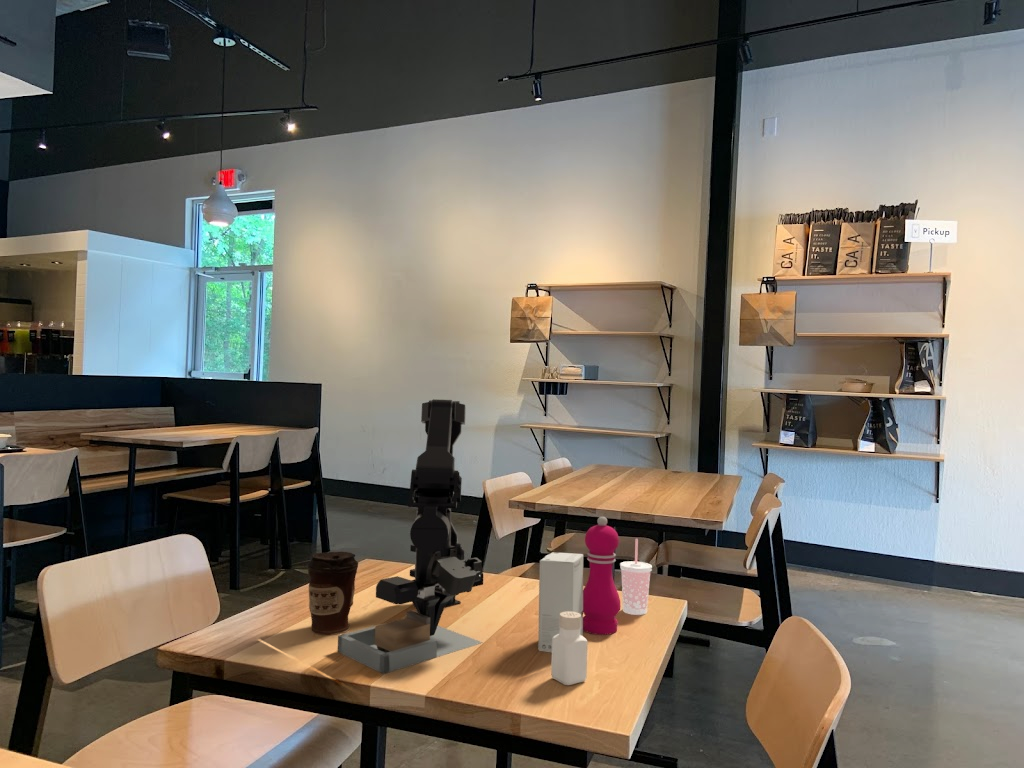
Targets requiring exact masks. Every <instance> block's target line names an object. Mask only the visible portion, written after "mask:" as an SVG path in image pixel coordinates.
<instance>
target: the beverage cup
mask: <svg viewBox="0 0 1024 768" xmlns="http://www.w3.org/2000/svg"><path fill="white" fill-rule="evenodd" d="M634 544H635V547H634V550H635V551H634V560H633V561H632V560H631V561H629V560H627V561H623V562H620V563H619V566H620V568H619V569H620V571H621V594H622V595H621V596H622V599H621V600H622V611H623V612H624V613H625V614H629V615H632V616H634V615H636V616H640V615H641V616H642V615H645V614H647V613H648V603H649V590H650V580H651V572H652V571H653V569H652V568H653V565H652V564H650V563H648V562H644V561H638V556H639V555H638V553H639V552H638V551H639V539H638V538H635V543H634Z"/></svg>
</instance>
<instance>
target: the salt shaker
mask: <svg viewBox="0 0 1024 768" xmlns="http://www.w3.org/2000/svg"><path fill="white" fill-rule="evenodd" d="M559 628H560V634H557V635H555V636H554V637H553V638H552V652H551V664H550V666H551V667H550V669H551V670H550V671H551V673H550V674H551V675H550V676H551V678H552V679H554V680H555V681H557V682H559V683H561V684H562V685H564V686H571V685H575V684H579V683H583V682H585V681H586V679H587V676H588V675H587V673H588V670H587V669H588V640H587V638H585V637H584V635H583V636H582V635H580V629H581V614H579V613H577V612H570V611H567V612H562V613H560V616H559Z"/></svg>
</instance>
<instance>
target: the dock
mask: <svg viewBox="0 0 1024 768" xmlns="http://www.w3.org/2000/svg"><path fill="white" fill-rule="evenodd" d="M375 626H376V625H375ZM375 626H371V627H367V628H363V629H359V630H355V631H354V630H353V631H351V632H345V633H341V634H337V652H338V653H339V654H341V655H343V656H345V657H346V658H347V657H348V658H349V659H351V660H354V661H356V662H357V663H360V664H362V665H363V666H366V667H368V668H369V669H372V670H375V671H376V672H379V673H381V674H382V675H384V674H388V673H391V672H394V671H399V670H401V669H404V668H407V667H410V666H414V665H417V664H419V663H424V662H427V661H430V660H433V659H436V658H440V657H442V656H443V657H444V656H446V655H449V654H451V653H455V652H458V651H462V650H465V649H469V648H471V647H474V646H477V645H478V646H479V645H481V644H484V642H482V641H480V640H478V639H474V638H472V637H470V636H467V635H465V634H462V633H459V632H456V631H454V630H451V629H448V628H445V627H442V626H439V625H438V626H437V629H436V631H435V634H434V635H432V636H430V640H429V641H425V642H422V643H418V644H415V645H411V646H408V647H404V648H401V649H398V650H394V651H391V652H390V651H388V650H384V651H380V650H378V649H377V646H376V645H375Z"/></svg>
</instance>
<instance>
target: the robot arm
mask: <svg viewBox="0 0 1024 768" xmlns="http://www.w3.org/2000/svg"><path fill="white" fill-rule="evenodd" d="M466 410H467V409H466V404H464V403H460V401H459V400H452V399H439V398H438V399H435V398H434V399H433V398H432V399H430V400H428V402H427V401H426V402H423V403H421V416H420V417H421V421H420V422H421V423H422V424H424V425H425V426H424V430H425V431H424V432H425V434H426V435H427V436H426V437H427V438H426V447H425V451H423V452H422V453H421V454H420V455H418V456H417V458H416V464H415V468H414V469H411V474H410V484H409V485H410V486H409V492H408V493H409V494H408V496H409V497H408V503H407V504H408V508H417V510H416V518H415V519H414V521H413V522H412V525H411V528H410V532H409V536H410V541H411V543H412V544H410V546H409V547H410V551H409V552H414V568H413V569H409V577H412V578H414V579H407V578H405V577H401V576H399V575H398V576H393V577H387V578H382V579H380V580H379V581H378V582H377V583H376V586H375V598H377V599H380V600H382V601H385V602H388V603H391V604H394V605H403V604H408V603H412V604H413V606H414V608H415V611H416V613H419V614H422V615H425V616H427V617H430V636H432V635H434V634H435V631H436V629H437V626H439V623H440V621H441V618H442V615H443V612H444V610H445V608H450V607H455V606H457V605H461V603H462V602H461V600H458V599H456V596H458V595H460V594H463V593H470V592H472V590H473V588H475V587H480V586H483V585H484V573H483V565H482V560H481V559H479V558H478V557H471V558H468V559H467V560H466V559H465V550H464V549H463V546H462V543H461V542H460V543H459V541H458V540H459V534H458V531H457V530H456V527H455V526H454V524H453V522H452V509H457V506H458V504H459V503H461V501H462V500H461V499H462V498H461V497H462V484H463V483H462V482H463V481H462V480H463V478H462V476H461V475H460V472H459V470H455V469H456V468H455V466H456V465H455V460H456V459H455V456H454V446H455V444H456V442H457V440H458V439H459V438H460V436H461V434H462V426H463V425H466ZM452 499H453V500H452Z"/></svg>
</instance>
